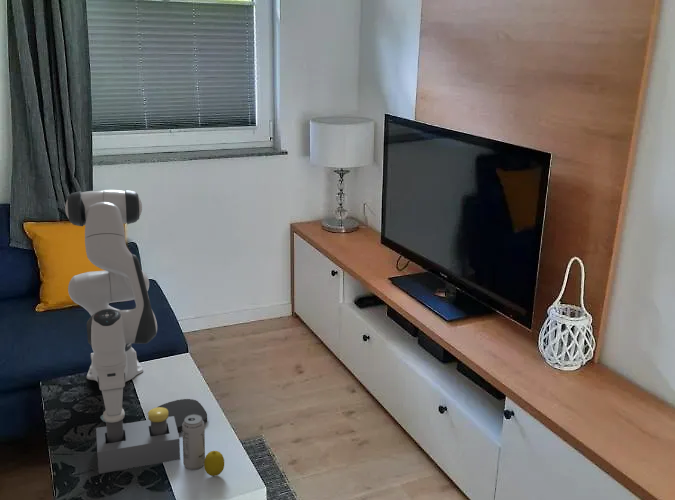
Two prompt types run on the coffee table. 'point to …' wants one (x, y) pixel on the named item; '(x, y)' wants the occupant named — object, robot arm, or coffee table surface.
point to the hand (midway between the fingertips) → (113, 412)
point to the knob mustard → (158, 421)
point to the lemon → (214, 463)
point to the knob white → (114, 427)
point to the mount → (137, 446)
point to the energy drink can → (193, 442)
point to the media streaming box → (184, 410)
